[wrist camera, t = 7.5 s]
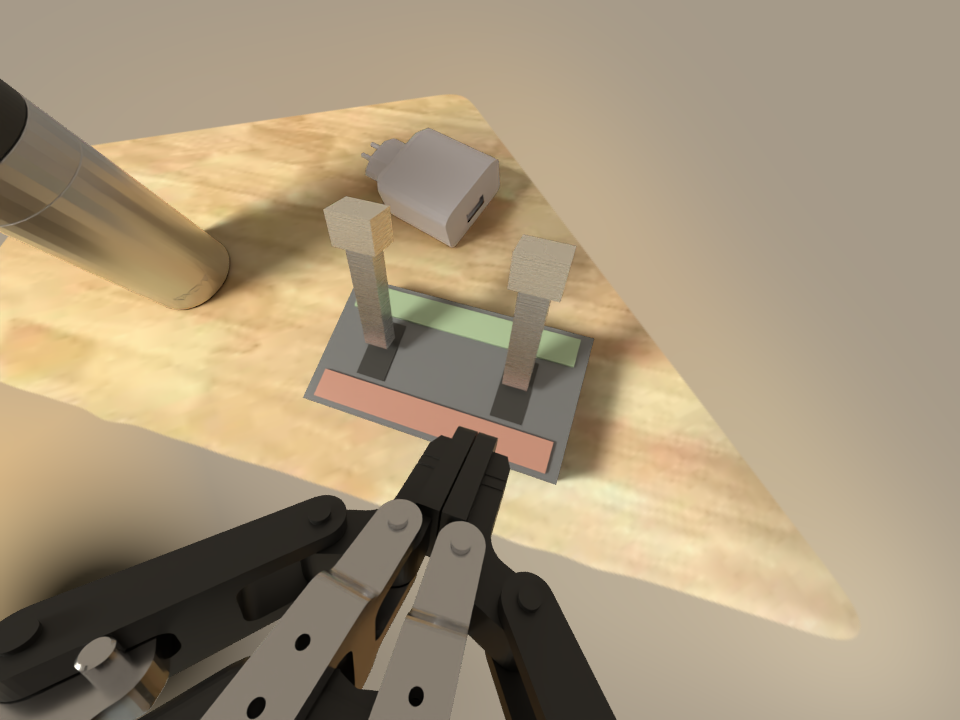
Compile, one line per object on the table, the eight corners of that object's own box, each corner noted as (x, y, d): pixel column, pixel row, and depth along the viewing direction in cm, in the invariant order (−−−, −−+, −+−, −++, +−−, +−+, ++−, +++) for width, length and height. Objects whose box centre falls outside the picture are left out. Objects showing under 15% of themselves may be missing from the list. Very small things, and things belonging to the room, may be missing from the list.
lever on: (390, 354, 29) (369, 220, 21) (355, 344, 29) (323, 209, 21) (404, 337, 30) (389, 205, 22) (371, 327, 31) (346, 196, 23)
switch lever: (532, 398, 26) (570, 265, 19) (492, 385, 27) (512, 252, 19) (539, 376, 28) (576, 246, 20) (501, 365, 29) (523, 234, 21)
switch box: (550, 482, 30) (556, 485, 26) (327, 405, 34) (301, 396, 30) (584, 353, 33) (594, 337, 29) (375, 296, 37) (357, 274, 33)
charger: (398, 140, 43) (500, 190, 39) (350, 194, 41) (452, 251, 38) (384, 102, 38) (498, 154, 35) (330, 161, 37) (444, 222, 33)
